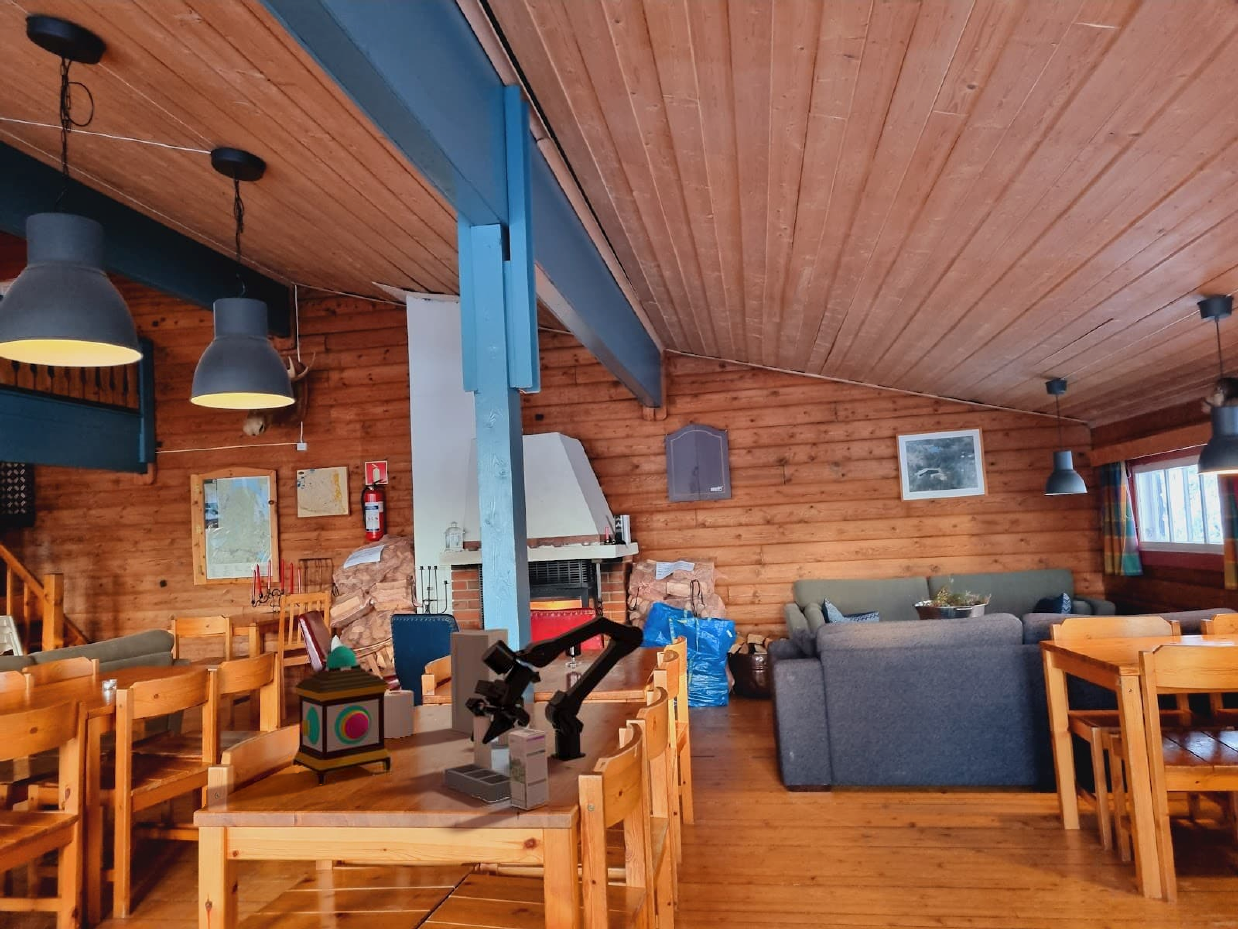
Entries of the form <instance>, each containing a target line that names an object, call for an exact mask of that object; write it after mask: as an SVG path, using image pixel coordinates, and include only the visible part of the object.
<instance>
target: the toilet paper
mask: <svg viewBox="0 0 1238 929" xmlns="http://www.w3.org/2000/svg"><path fill="white" fill-rule="evenodd" d="M414 695H415V693H414V691H412V690H410V689H409V690H408V689H407V690H406V689H405V690H404V689H402V690H401V689H400V690H399V689H398V690H391V691H390V690H389V691H386V692H385V694H384V738H394V737H402V736H408V737H410V736H409V735H411V734H413V733H414V734H415V717H414V716H415V715H414V714H415V711H414V710H415V709H414V708H415V707H414V706H415V705H414V701H415V700H414V699H415V698H414ZM414 734H413V735H414ZM411 736H412V735H411Z"/></svg>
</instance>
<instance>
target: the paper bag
mask: <svg viewBox="0 0 1238 929" xmlns="http://www.w3.org/2000/svg"><path fill="white" fill-rule="evenodd" d="M449 635H450V638H449V639H450V640H449V641H450V646H449V647H450V686H451V687H450V690H451V693H450V695H451V696H450V697H451V700H450V701H451V730H452V729H453V731H456V732H461V733H464V734H468V735H472V732H473V728H474V724H473V718H474V717H476V716H475V715H474V714H473V713H472V712H471V711H470V710H469V709H468V708H467V707H466V706H465V704H466V702H467V701H468V699H469V698H473V697H474V698H482V699H483V700H484V701H485V702H486V704H487V705H489V704H490V703H489V702H487V701H486V700H485V698H486V696H483V695H481V694H476V693H474V691H475V688H476V685H477V682H478V680H487V681H492V682H494V681H495V680H496V679H499V680H503V681H504V679H505V678H506V676H507V675H508V673H509V672H510V671H509V672H508V673H507V674H505V675H504V674H503V673H502V674H501V675H497V674H496V673H495V672H494V671H493V670H491V669H490V668H489V667H488V666H487V665H485V664H484V663H483V662H482V661H481V658H482V656H483V654H484V653H485V651H486V650H487V649H488V648H490V647H491V646H492V645H493V644H495V643H496V642H497V641H498V640H499V639H500V640H502V641H503V642H504V643H505V644H506V645H507V646H508V647H509V628H493V629H491V628H490V629H480V630H478V629H477V630H467V631H454V632H450V633H449ZM491 721H493V715H492V716H491Z"/></svg>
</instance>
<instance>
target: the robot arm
mask: <svg viewBox="0 0 1238 929" xmlns="http://www.w3.org/2000/svg"><path fill="white" fill-rule="evenodd" d="M601 634H603V635H605V636H607V637H608V638H609V641H608V643H607V646H606V648H605V650H603V651H602V653H601V654H600V655H599V656H598V657H597V658H596V659H595V660H594V661H593V663H592V664H591V665H590V666H589V667H588V668H587V669H586V670H585V671H584V673H583V674H582V675H581V676H580V677H579V678H578V679H577V680H576V682H574V684H573V685H572V686H570V688H569V689H568V690H565V691H563V690H561V689H558V690H556V692H555V693H554V694H553V696H552V697H551V698H550V699H548V700H547V701H546V703H547V705H545V708H544V717H545V719H546V720H547V722H549V723H550V724H551V726H552V728H553V730H554V748H555V750H554V751H555V753H551V754H550V757H552V758H556V759H560V760H563V761H568V760H571V759H572V760H573V759H577V758H581V757H585V756H586V753H585V752H582V750H581V748H582V747H581V733H583V729H584V726H585V724H584V723H583V722H582V720H580V718H578V717H577V716H578V714H579V713H580V711H581V708H582V704H583V702H584V700H586V698H588V696H589V695H590V693H591V692H592V691H594V689H595V688H596V687H597V686H598V685H599V684H600V682H601V681H602V680H603V679H604V678H605V677H606V676H608V674H609V672H611V670H612V669H613V668H614V667H615V666H616V665H617V664H618V662H619V661H620V660H621V659H623V658H625V657H627V656H629V655H630V654H632V653H633V652H634V651H636V650H637V649H638V648H640V647H641V646H642V645H643V643H644V640H645V638H644V635H645V634H644V632H643V629H642V628H640V627H639V626H636V625H633V624H632V625H631V624H622V623H620V622H617V621H614V620H611V619H609V618H608V617H606V616H600V615H597V616H595V617H594V618H592V619H591V620H588V621H586V622H584V623H582V624H580V625H578V626H575V627H574V628H571V629H570V630H568V631H566V632H563V633H560V634H559V635H556V636H554V637H551V638H547V639H546V638H544V639H541V640H537V641H534V642H530V643H528V644H526V645H525V647H524V648H522V649H519V650H512V649H511V648H510V647H509V645H508V646H507V645H506V644H505V643H504V642H503V641H502V640H500V639H499V640H498V641H497V642H496V643H495V644H493V645H492V646H491V647H490V648H488V649H487V650H486V651H485V653H484V654H483V656H482V658H481V661H482V662H483V663H484V664H485V665H487V666H488V667H489V668H490V669H491V670H493V671H494V672H495V673H496V674H497V675H501V674H502V673H503V674H504V675H505V674H507V673H508V672H509V673H508V675H507V676H506V678H505V679H504V681H503V680H499V679H496V680H495V681H494V682H492V681H487V680H478V682H477V685H476V688H475V691H474V693H476V694H481V695H483V696H486V698H485V700H486V701H487V702H489V703H490V704H489V705H487V704H486V702H485V701H484V700H483V699H482V698H474V697H473V698H469V699H468V701H467V702H466V704H465V706H466V707H467V708H468V709H469V710H470V711H471V712H472V713H473V714H474V715H475V716H476V717H478V716H490V717H491V716H492V715H493V721H491V725H490V727H489V729H488V730H487V732H486V734H485V736H484V738H483V740H482V743H483V744H485V745H486V744H487V743H489V742H490V741H491V742H492V741H493V740H495V739H497V738H498V736H500V735H501V734H503V733H505V732H506V731H508V730H510V729H512V728H515V725H514V723H515V721H516V720H518V721H517V723H518V726H520V727H527V725H528V724H529V725H530V722H531V715H530V713H529V712H528V711H527V710H526V709H525V707H524V708H523V707H522V706H521V705H520V704H517V702H522V701H523V700H524V701H525V698H524V697H523V695H524V694H525V691H526V690H527V688H528V687H529V685H530V684H531V683H532V684H537V683H541V682H542V679H541V676H540V671H538V670H537V671H534V670H533V669H532V668H530V667H529V666H532V667H534V668H537V669H543V668H545V667H546V666H549V665H550V664H551V663H552V662H555V660H556V659H557V658H558V657H559V656H560V655H561V654H563V653H565V652H567V651H568V650H570V649H572V648H574V647H577V646H578V645H580V644H583V643H584V642H587V641H588V640H590V639H593V638H595V637H597V636H599V635H601ZM520 662H521V663H520ZM522 663H524V665H523V664H522ZM526 664H527V665H526ZM470 735H471V737H470V741H471V742H472V743H474V728H473V732H472V734H470Z"/></svg>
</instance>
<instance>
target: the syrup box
mask: <svg viewBox="0 0 1238 929" xmlns="http://www.w3.org/2000/svg"><path fill="white" fill-rule="evenodd" d="M508 743H509V745H508V766H509V768H508V770H509V772H508V773H509V774H508V775H510V799H509V801H510V805H511V804H514V805H516V806H520V807H523V808H530V807H532V806H534V805H536V804H541V803H543V802H545V801H549V785H548V783H549V781H548V755H547V754H548V753H547V751H548V749H547V732H546V731H543V730H538V729H532V728H529V729H522V730H517V731H514V732H511V733H508ZM549 802H550V801H549Z"/></svg>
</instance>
